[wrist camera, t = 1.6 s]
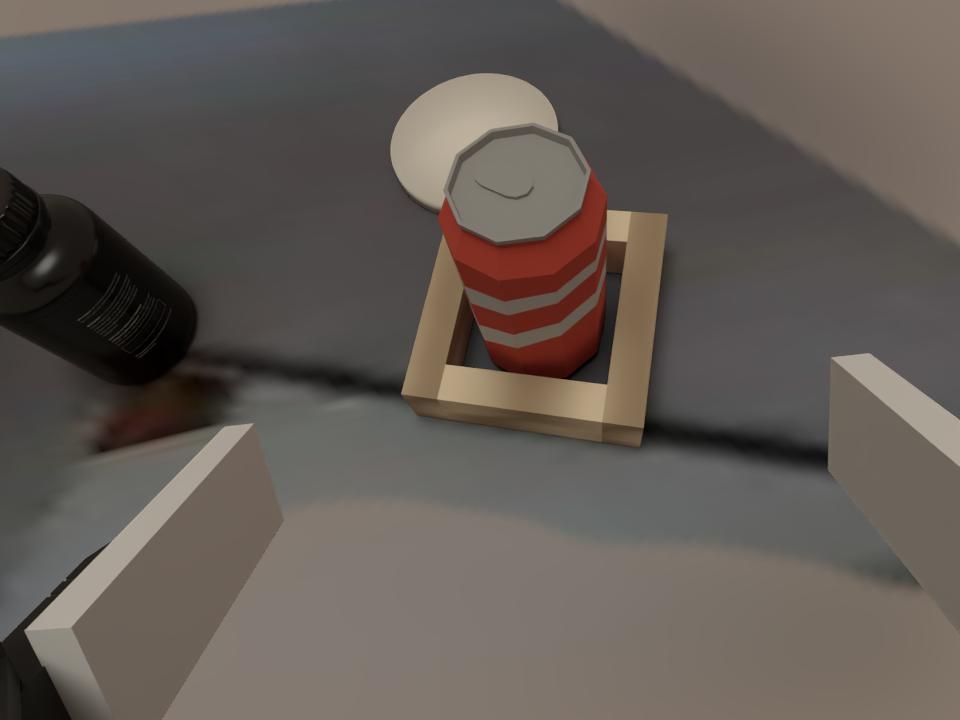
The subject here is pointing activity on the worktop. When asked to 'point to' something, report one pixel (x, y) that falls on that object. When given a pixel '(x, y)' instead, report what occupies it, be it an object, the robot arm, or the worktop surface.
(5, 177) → the supplement bottle
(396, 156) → the coaster
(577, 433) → the oak holder
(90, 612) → the robot arm
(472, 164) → the beverage can
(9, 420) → the worktop surface
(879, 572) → the worktop surface
